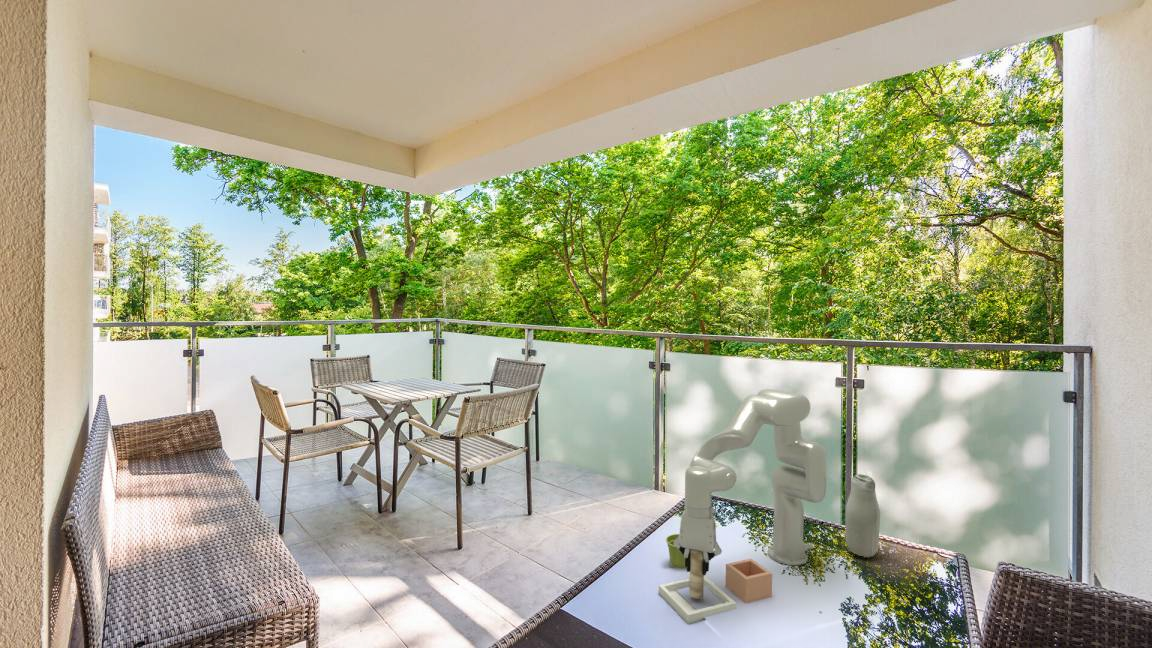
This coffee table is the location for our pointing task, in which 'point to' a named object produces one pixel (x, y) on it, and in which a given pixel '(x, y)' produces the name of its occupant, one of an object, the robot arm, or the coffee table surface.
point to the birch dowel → (696, 574)
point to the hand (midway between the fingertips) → (696, 570)
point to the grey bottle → (862, 517)
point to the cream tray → (686, 608)
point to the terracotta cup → (748, 580)
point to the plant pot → (675, 552)
